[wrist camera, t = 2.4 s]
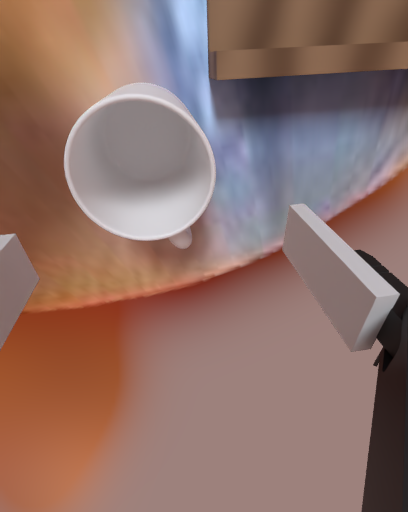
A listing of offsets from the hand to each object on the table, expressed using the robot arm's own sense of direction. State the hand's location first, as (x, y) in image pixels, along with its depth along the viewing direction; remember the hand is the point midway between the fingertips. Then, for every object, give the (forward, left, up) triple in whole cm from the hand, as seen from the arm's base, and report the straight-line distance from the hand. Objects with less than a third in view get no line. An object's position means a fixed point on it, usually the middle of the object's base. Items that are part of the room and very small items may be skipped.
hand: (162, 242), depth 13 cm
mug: (0, 0, -14) cm, 14 cm away
